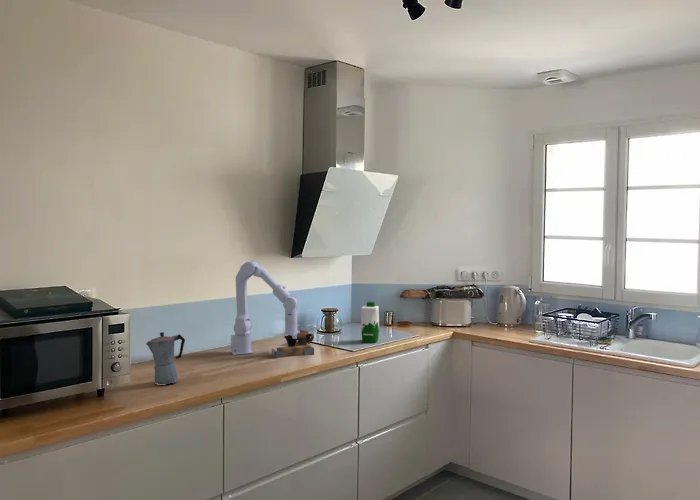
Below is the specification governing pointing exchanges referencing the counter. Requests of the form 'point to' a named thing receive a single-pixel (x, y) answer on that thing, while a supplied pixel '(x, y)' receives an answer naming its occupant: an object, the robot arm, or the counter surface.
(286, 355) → the slat
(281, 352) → the cap
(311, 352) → the cap
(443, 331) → the counter surface
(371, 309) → the milk carton
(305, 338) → the pottery mug
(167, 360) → the moka pot
